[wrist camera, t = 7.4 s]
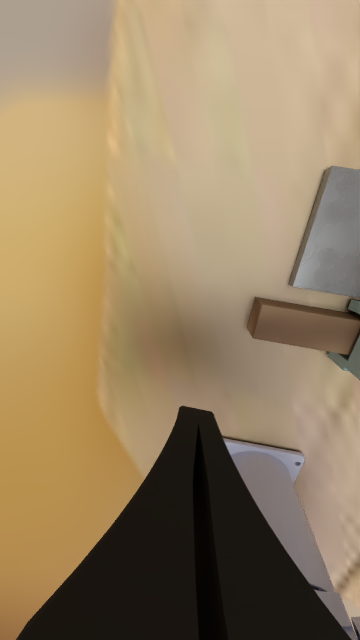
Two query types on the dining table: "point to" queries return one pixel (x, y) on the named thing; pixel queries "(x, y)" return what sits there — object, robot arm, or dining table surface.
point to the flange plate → (332, 237)
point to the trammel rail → (304, 326)
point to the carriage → (356, 362)
